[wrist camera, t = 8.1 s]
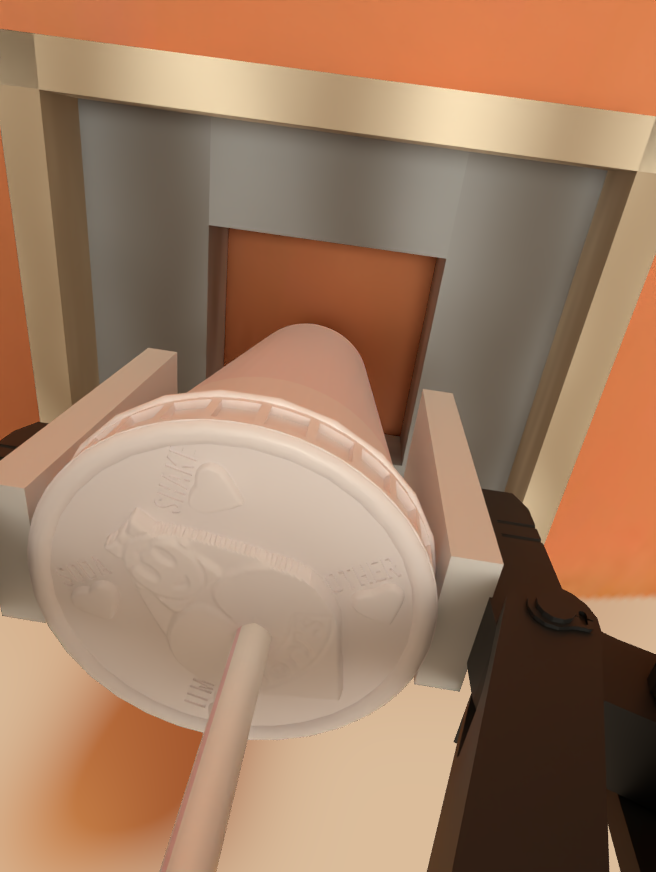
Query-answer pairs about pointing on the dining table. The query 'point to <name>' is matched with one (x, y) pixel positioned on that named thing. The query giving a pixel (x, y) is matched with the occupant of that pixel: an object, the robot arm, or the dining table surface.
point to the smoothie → (241, 563)
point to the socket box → (329, 228)
